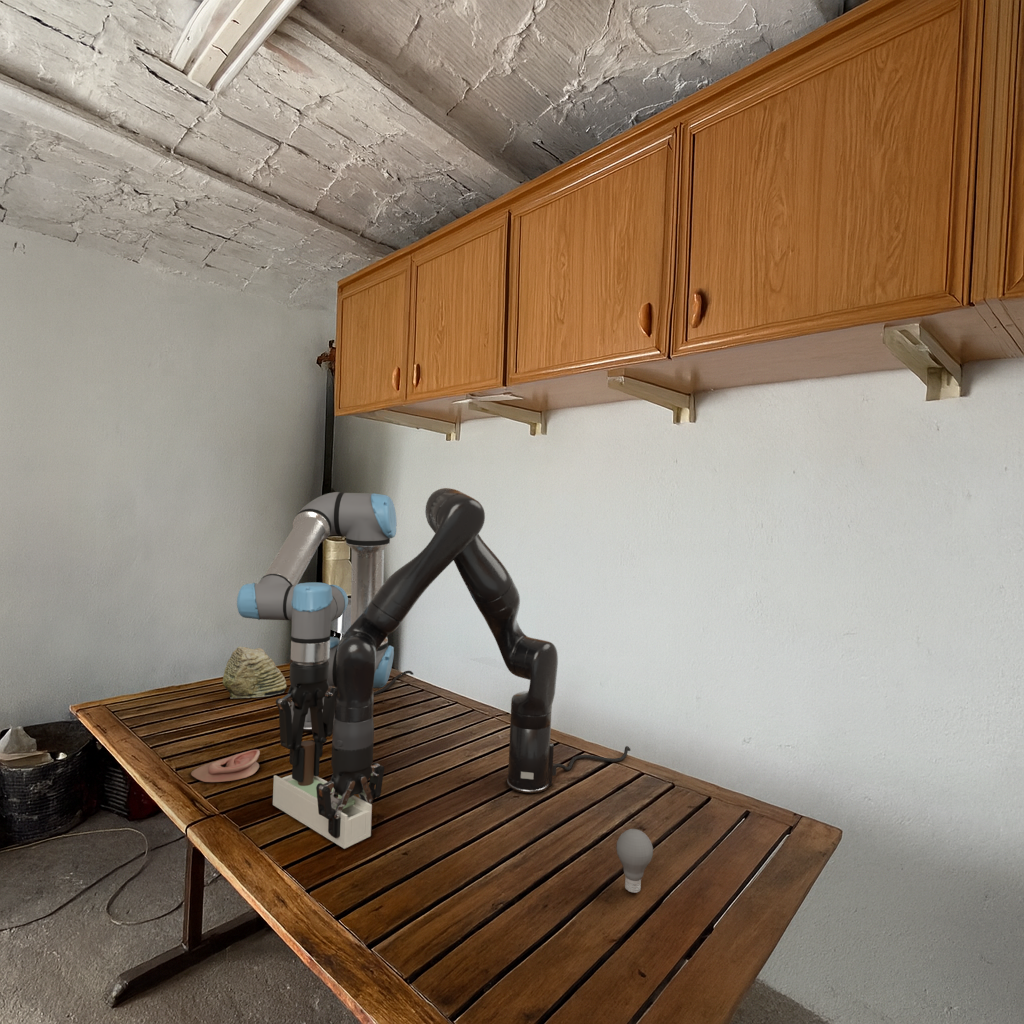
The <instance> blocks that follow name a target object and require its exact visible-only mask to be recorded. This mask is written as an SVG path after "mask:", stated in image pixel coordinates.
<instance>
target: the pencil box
mask: <svg viewBox="0 0 1024 1024" xmlns="http://www.w3.org/2000/svg"><path fill="white" fill-rule="evenodd" d="M314 779H315V780H317V781H319V782H321V783H323V784H325V783H327V782H328V781H327V780H325V779H323V778H322V777H320V776H314ZM291 780H294V779H293V778H292V774H290V775H286V776H284V777H280V776H278V775H277V774H276V775H273V785H272V786H273V788H272V789H273V790H272V806H274V807H275V808H277V809H279V810H280V811H282V812H283V813H285V814H286V815H289V816H290V817H291V818H293V819H295V820H297V821H298V822H299V823H301V824H303V825H305V826H306V827H307V828H309V829H311V830H313V831H314V832H316V833H317V834H318V835H321V836H322V837H324V838H326V839H327V840H328V841H331V842H332V843H334V844H336V845H337V846H339V847H341V848H342V849H344V850H345V849H347V848H349V847H351V846H354V845H355V844H357V843H360V842H363V841H364V840H366V839H368V838H370V837H371V836H372V816H373V815H372V814H373V813H372V812H373V811H372V810H373V805H372V804H370V803H368V802H366V801H364V800H362V799H360V797H359V796H358V797H357V796H356V795H353V796H352V797H350V798H351V799H353V800H355V804H354V805H352V806H349V807H347V808H345V809H342V812H341V815H340V818H341V823H340V837H338V838H334V837H333V836H331V835H330V834H329V832H328V820H329V819H326V818H325V817H323V816H322V815H320V814H319V812H318V801H317V798H316V797H314V796H312V795H310V794H309V793H307V792H305V791H303V790H301V789H300V788H298V787H296V786H294V785H293V784H291V783H289V782H288V781H291ZM332 789H334V788H332ZM335 809H336V808H335Z"/></svg>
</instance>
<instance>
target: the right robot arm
mask: <svg viewBox="0 0 1024 1024" xmlns="http://www.w3.org/2000/svg"><path fill="white" fill-rule="evenodd" d="M424 513H425V518H426V521H427V524H428V525H429V527H430V529H431V531H432V532H433V533H434V535H433V536H432V538H431V539H430V541H429V542H428V543H427V545H426V546H425V547H424V548H423V549H422V550H421V551H420V552H419V553H418V554H417V555H416V556H415V557H413V558H412V559H411V560H410V561H408V562H407V563H405V564H404V565H403V566H401V567H400V568H399V569H397V570H396V571H395V572H394V573H392V574H391V575H390V576H389V577H388V578H387V579H386V580H385V582H383V585H382V587H381V588H380V589H379V591H378V592H377V593H376V595H375V596H374V597H373V599H372V600H371V601H370V603H369V604H368V606H367V608H366V609H365V611H364V612H363V613H362V614H361V615H360V617H359V618H358V619H357V620H356V621H355V622H354V623H353V624H352V625H351V624H350V626H349V628H348V629H347V630H346V631H345V633H344V634H343V635H342V637H341V638H340V639H339V641H340V642H339V644H338V647H337V655H336V678H337V691H336V697H335V717H334V724H333V731H332V735H331V737H332V738H331V763H330V764H331V768H332V769H331V770H332V775H331V777H330V780H329V781H327V783H325V784H321V783H319V784H318V785H317V787H316V790H317V801H318V812H319V814H320V815H322V816H323V817H325V818H326V819H329V820H328V832H329V834H330V835H331V836H333V837H334V838H338V837H340V823H341V818H340V815H341V812H342V809H343V807H344V806H346V804H347V802H348V799H349V798H350V797H352V796H353V795H354V796H356V795H358V798H360V799H362V800H364V801H366V802H368V803H370V804H371V805H372V804H373V802H374V800H375V799H379V798H380V797H381V795H382V787H383V781H384V775H385V766H384V765H381V764H379V763H377V762H374V742H375V741H374V737H375V722H374V705H375V704H374V703H375V702H374V701H375V698H374V697H375V695H374V694H373V692H374V688H373V683H374V675H375V663H376V651H377V649H378V648H379V646H380V645H381V644H382V642H383V641H384V640H385V638H386V637H387V638H388V636H389V635H390V634H392V633H393V632H395V631H396V630H397V629H398V627H400V625H401V624H402V622H403V620H405V618H406V617H407V615H408V614H409V613H410V612H411V610H412V609H413V607H414V606H415V605H416V603H417V602H418V600H419V599H420V598H421V597H422V595H423V594H424V593H425V592H426V590H427V589H428V588H429V587H430V586H431V584H432V583H434V581H435V580H436V579H437V578H439V576H440V575H441V574H442V573H443V572H444V570H446V569H447V568H448V566H450V564H451V563H452V562H454V564H455V566H456V569H457V571H458V573H459V575H460V577H461V579H462V581H463V582H464V585H465V586H466V589H467V590H468V592H469V594H470V597H471V598H472V599H473V602H474V604H475V605H476V607H477V609H478V610H479V612H480V614H481V615H482V617H483V619H484V621H485V622H486V625H487V627H488V628H489V630H490V632H491V634H492V635H493V638H494V640H495V643H496V645H497V647H498V650H499V652H500V655H501V657H502V660H503V662H504V664H505V666H506V668H507V669H508V672H510V673H511V675H514V676H516V677H518V678H521V679H525V680H529V687H528V690H523V691H519V692H516V693H515V694H513V695H512V697H511V700H510V702H511V703H510V720H509V721H510V723H509V743H508V744H509V745H508V747H509V748H508V766H507V767H508V771H507V781H506V782H507V783H506V784H507V786H508V787H509V788H510V789H511V790H513V791H515V792H518V793H523V794H538V793H542V792H545V791H546V790H547V789H548V788H549V787H553V777H554V776H556V775H557V768H559V769H562V770H564V771H566V772H568V771H571V770H572V767H573V765H574V763H575V761H577V760H579V759H580V760H581V759H589V760H596V761H600V762H607V763H617V762H622V761H624V760H625V759H626V757H627V756H628V752H631V751H632V750H631V747H629V746H627V745H626V746H625V747H624V750H623V754H622V756H620V757H617V758H615V757H614V758H613V757H611V758H610V757H604V756H598V755H591V754H579V755H576V756H573V757H572V758H571V759H570V761H569V764H568V766H566V765H565V764H562V763H554V748H555V747H554V746H555V745H554V743H553V742H551V734H552V733H551V731H552V712H553V711H552V709H553V702H554V699H555V695H556V686H557V677H558V666H559V655H558V653H559V652H558V650H557V646H556V645H555V644H554V643H553V642H551V641H548V640H543V639H539V638H535V637H530V636H528V635H526V634H525V633H524V631H523V629H522V628H521V626H520V624H519V623H518V620H517V617H518V615H519V610H520V606H521V596H520V593H519V590H518V588H517V586H516V584H515V581H514V580H513V578H512V576H511V575H510V573H509V571H508V570H507V568H506V567H505V564H503V562H502V561H501V560H500V559H499V557H498V556H497V555H496V554H495V553H494V552H493V550H492V549H491V547H489V546H488V545H487V544H486V543H485V541H484V539H482V537H481V535H480V533H481V531H482V530H483V528H484V525H485V521H486V512H485V509H484V507H483V505H482V504H481V502H480V501H478V500H477V499H475V498H474V497H472V496H470V495H468V494H466V493H464V492H462V491H460V490H457V489H455V488H450V487H442V488H438V489H436V490H435V491H433V492H432V493H431V494H430V495H429V497H428V498H427V501H426V504H425V511H424ZM368 781H369V782H368ZM332 788H334V789H333V792H332ZM338 795H340V796H342V798H341V799H340V798H339V797H338ZM336 805H337V807H336ZM335 807H336V809H335Z"/></svg>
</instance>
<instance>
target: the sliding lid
mask: <svg viewBox="0 0 1024 1024" xmlns="http://www.w3.org/2000/svg"><path fill="white" fill-rule="evenodd" d="M301 747H302V748H304V768H303V781H302V782H298V781H296V780H291V781H288V782H289V783H291V784H293V785H294V786H296V787H298V788H300V789H301V790H303V791H305V792H307V793H309V794H310V795H312V796H314V797H316V798H317V790H316V787H317V785H318V784H319V783H321V782H319V781H317V780H315V779H314V756H315V742H314V741H311V740H308V739H307V740H302V742H301ZM321 784H323V783H321ZM332 792H333V789H332ZM338 797H339V798H340V799H341V798H342V796H340V795H338ZM354 804H355V800H353V799H351V798H349V799H348V802H347V804H346V806H344V807H343V809H345V808H347V807H349V806H352V805H354ZM336 807H337V805H336ZM336 807H335V808H336Z"/></svg>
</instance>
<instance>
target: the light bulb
mask: <svg viewBox="0 0 1024 1024" xmlns="http://www.w3.org/2000/svg"><path fill="white" fill-rule="evenodd" d="M615 849H616V854H617V857H618V859H619V861H620V863H621V865H622V867H623V873H624V874H623V875H624V876H625V878H624V888H625V890H627V891H628V892H630V893H634V894H635V893H639V892H640V891H641V889H642V887H641V886H642V879H643V877H644V875H645V871H646V868H647V867H648V866H649V864H650V863H651V861H652V859H653V855H654V847H653V843H652V841H651V838H649V836H648V835H647V834H646V833H645V832H643V831H642V830H641V829H636V828H629V829H627V830H625V831H623V832H622V833H621V834H620V835H619V837H618V839H617V841H616V847H615Z"/></svg>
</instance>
